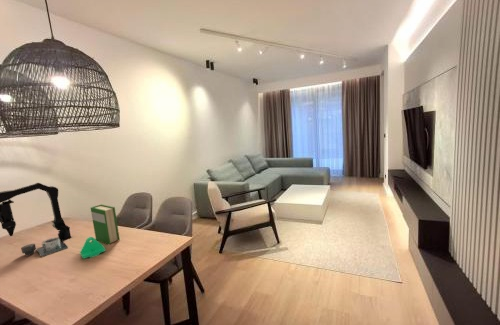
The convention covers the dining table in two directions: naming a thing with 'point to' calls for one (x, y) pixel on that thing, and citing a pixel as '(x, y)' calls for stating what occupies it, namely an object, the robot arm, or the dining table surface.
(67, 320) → the dining table surface
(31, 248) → the dark grey rounded lump
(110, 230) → the hardback book
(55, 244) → the square base plate
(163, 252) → the dining table surface
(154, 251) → the dining table surface
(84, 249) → the camera mount
